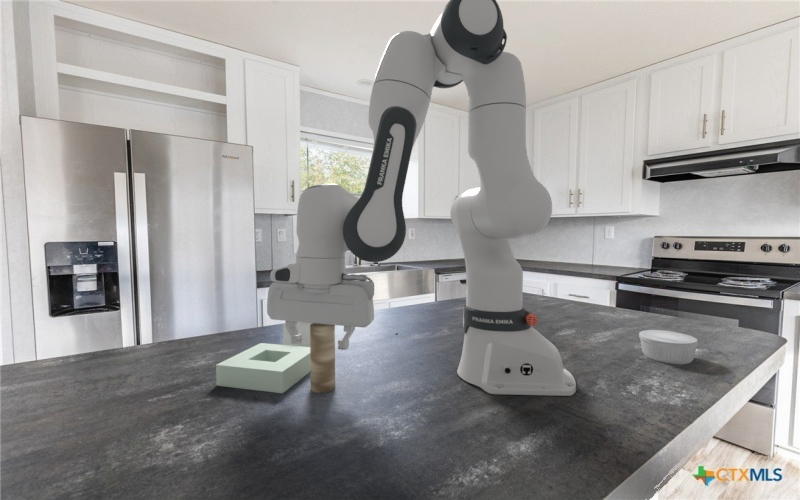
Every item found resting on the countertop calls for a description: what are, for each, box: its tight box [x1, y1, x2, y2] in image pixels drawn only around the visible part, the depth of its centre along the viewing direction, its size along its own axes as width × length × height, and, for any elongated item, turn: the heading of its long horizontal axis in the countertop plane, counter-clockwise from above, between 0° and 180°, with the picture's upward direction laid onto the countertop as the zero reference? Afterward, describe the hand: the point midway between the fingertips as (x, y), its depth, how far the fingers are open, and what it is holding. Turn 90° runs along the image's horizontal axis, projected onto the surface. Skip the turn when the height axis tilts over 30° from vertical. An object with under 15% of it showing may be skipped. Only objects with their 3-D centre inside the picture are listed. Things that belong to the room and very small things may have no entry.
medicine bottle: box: [282, 322, 312, 347], centre depth 91 cm, size 7×7×12 cm
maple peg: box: [310, 323, 336, 394], centre depth 68 cm, size 4×4×12 cm
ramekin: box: [638, 329, 699, 365], centre depth 86 cm, size 11×11×5 cm
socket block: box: [215, 342, 311, 394], centre depth 74 cm, size 14×14×4 cm
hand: (319, 346), depth 68 cm, fingers open, 8 cm apart
